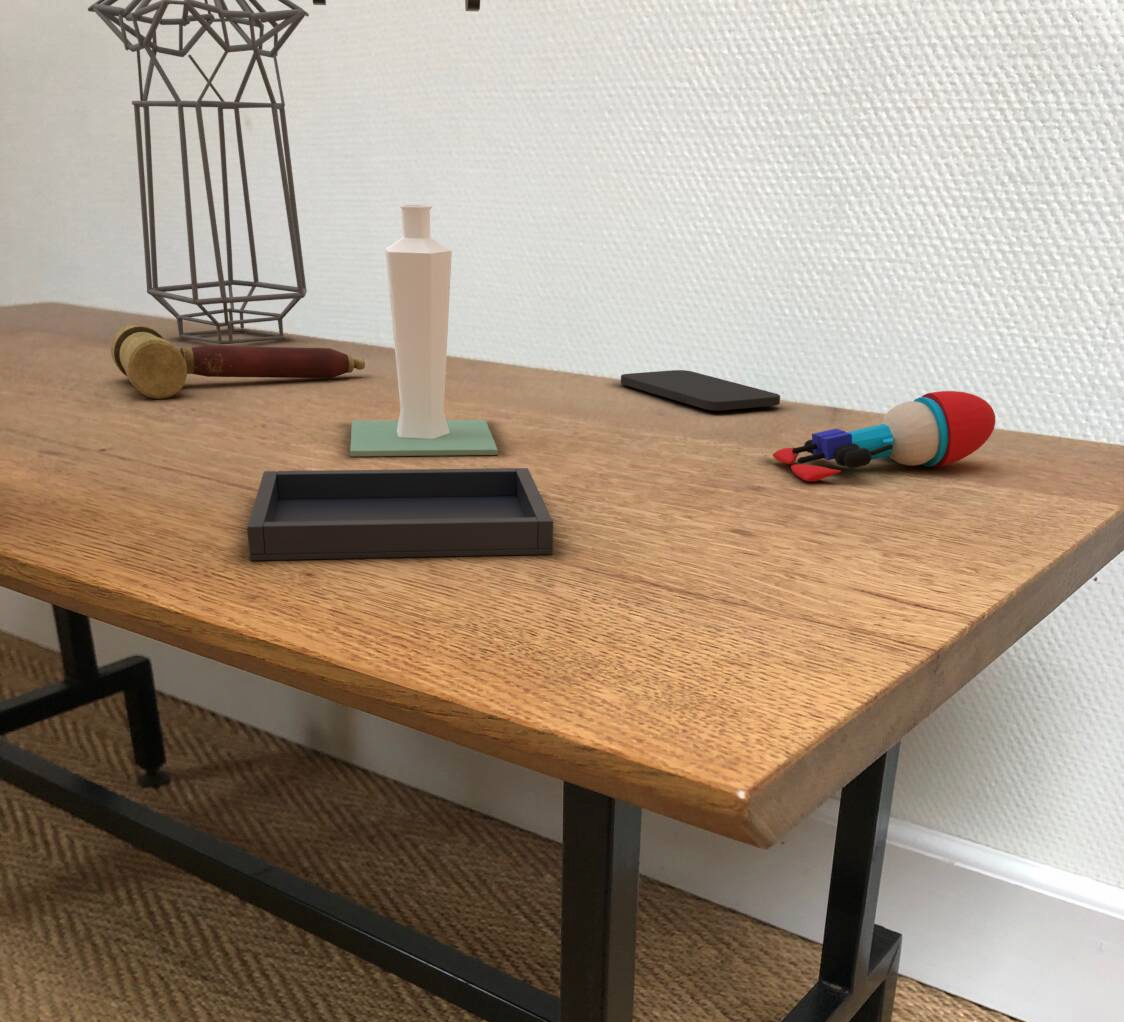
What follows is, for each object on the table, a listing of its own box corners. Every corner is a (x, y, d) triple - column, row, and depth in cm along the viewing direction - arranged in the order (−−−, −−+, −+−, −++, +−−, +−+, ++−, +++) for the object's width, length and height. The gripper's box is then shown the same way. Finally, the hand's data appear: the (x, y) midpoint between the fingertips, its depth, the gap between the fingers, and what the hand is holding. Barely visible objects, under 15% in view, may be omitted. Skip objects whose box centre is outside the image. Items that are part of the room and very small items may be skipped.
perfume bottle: (374, 432, 90) (364, 204, 84) (421, 424, 93) (415, 203, 87) (416, 443, 87) (409, 208, 81) (463, 434, 90) (460, 206, 84)
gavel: (349, 329, 116) (383, 345, 108) (348, 380, 118) (382, 400, 110) (108, 322, 107) (126, 339, 99) (112, 378, 109) (129, 399, 101)
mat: (350, 456, 85) (350, 450, 85) (352, 425, 94) (351, 420, 94) (497, 455, 87) (497, 449, 86) (485, 424, 95) (485, 419, 95)
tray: (249, 560, 64) (246, 526, 64) (266, 501, 75) (263, 470, 74) (552, 554, 66) (553, 521, 66) (527, 497, 77) (528, 467, 76)
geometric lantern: (337, 341, 131) (315, -56, 116) (204, 357, 121) (161, -77, 105) (250, 325, 141) (219, -43, 125) (121, 338, 130) (69, -62, 115)
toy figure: (813, 509, 81) (1022, 460, 83) (806, 432, 79) (1021, 385, 82) (767, 489, 88) (962, 445, 90) (760, 418, 86) (960, 374, 88)
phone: (685, 369, 115) (787, 396, 103) (684, 378, 115) (786, 406, 103) (615, 374, 112) (712, 402, 100) (614, 384, 112) (711, 413, 100)
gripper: (233, -403, 59) (262, -4, 67) (534, -380, 61) (530, 6, 68) (247, -350, 66) (272, 8, 73) (517, -330, 68) (516, 17, 75)
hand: (397, 7), depth 71 cm, fingers open, 8 cm apart
